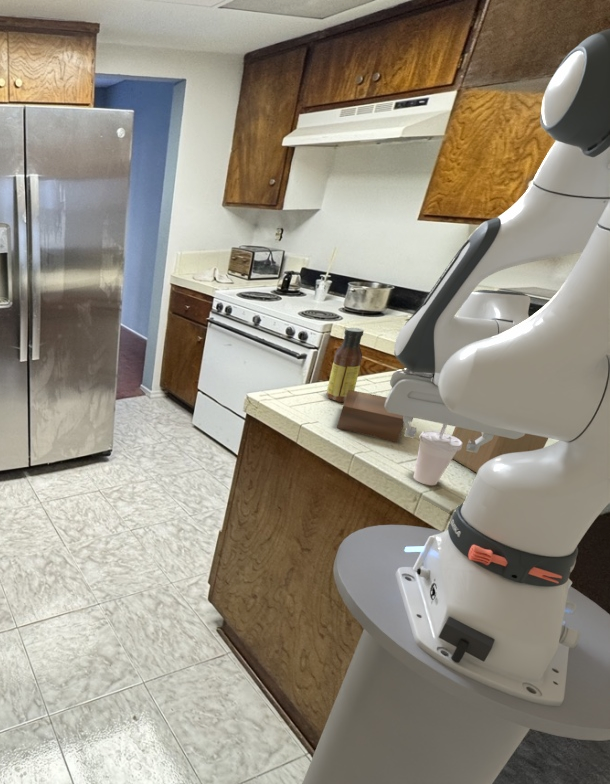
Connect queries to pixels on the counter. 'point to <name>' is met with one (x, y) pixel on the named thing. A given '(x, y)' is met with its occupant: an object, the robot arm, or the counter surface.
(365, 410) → the walnut block
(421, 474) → the smoothie
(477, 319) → the robot arm
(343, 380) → the sauce bottle
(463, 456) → the wooden block
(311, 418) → the counter surface
